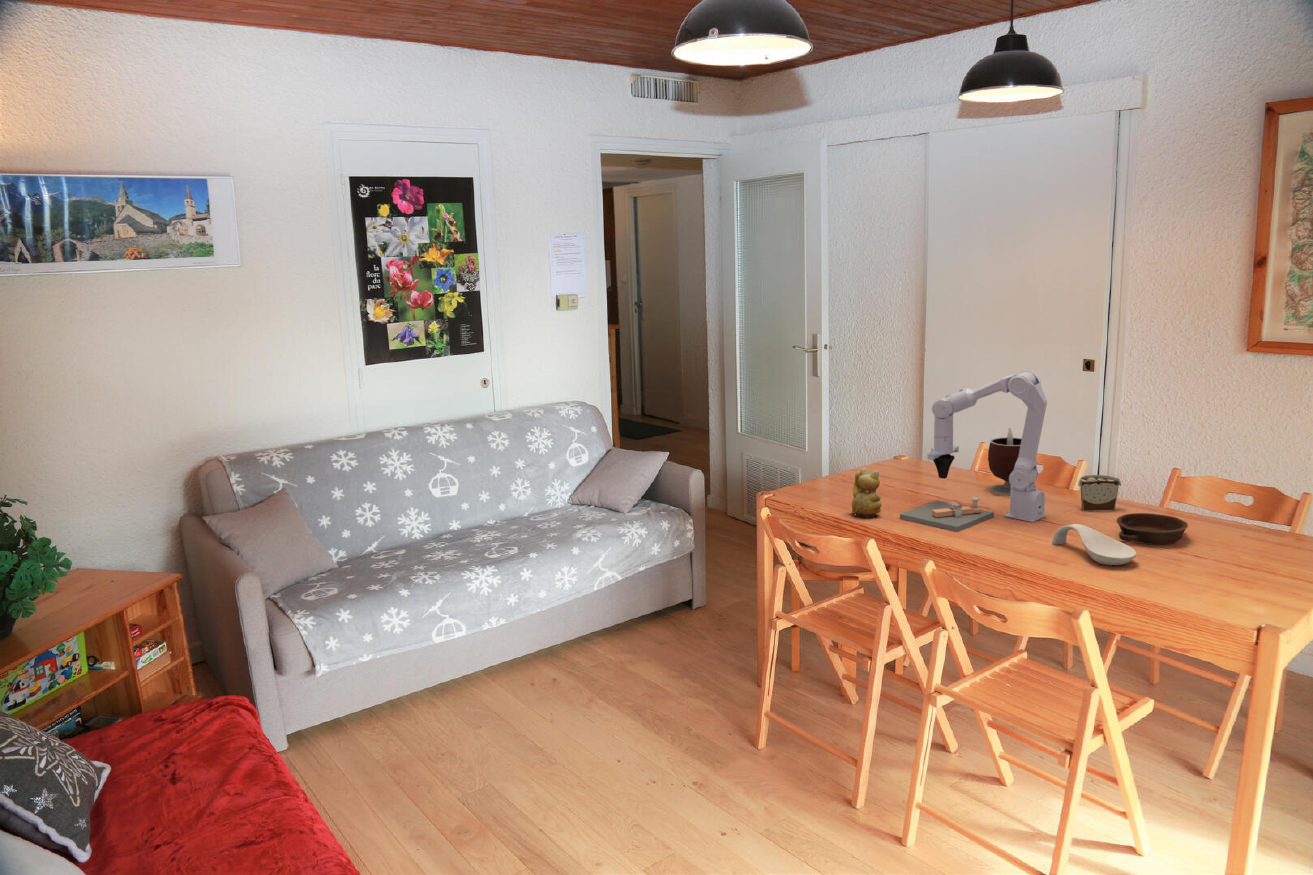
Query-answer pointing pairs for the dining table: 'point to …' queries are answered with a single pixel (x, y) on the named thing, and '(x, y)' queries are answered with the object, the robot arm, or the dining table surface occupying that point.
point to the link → (965, 509)
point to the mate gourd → (1003, 461)
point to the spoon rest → (1097, 545)
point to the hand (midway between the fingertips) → (942, 477)
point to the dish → (1151, 528)
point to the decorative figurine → (866, 493)
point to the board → (946, 522)
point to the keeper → (956, 509)
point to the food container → (1099, 492)
